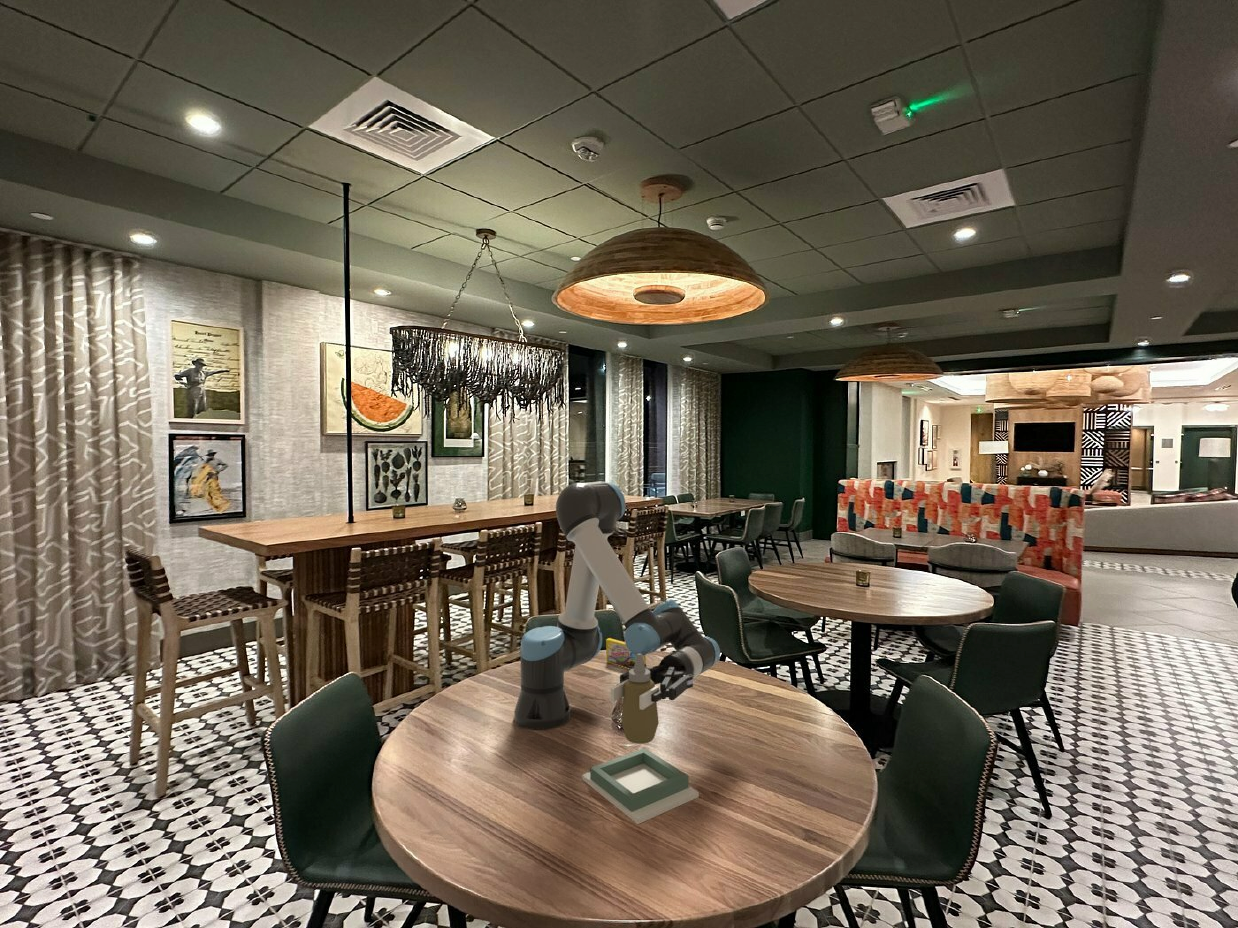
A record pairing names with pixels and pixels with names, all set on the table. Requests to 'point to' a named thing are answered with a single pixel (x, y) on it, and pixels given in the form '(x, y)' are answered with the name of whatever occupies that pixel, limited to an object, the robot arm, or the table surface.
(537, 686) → the robot arm
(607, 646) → the candy box
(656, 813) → the collar stand
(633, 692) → the squeeze bottle
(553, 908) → the table surface
